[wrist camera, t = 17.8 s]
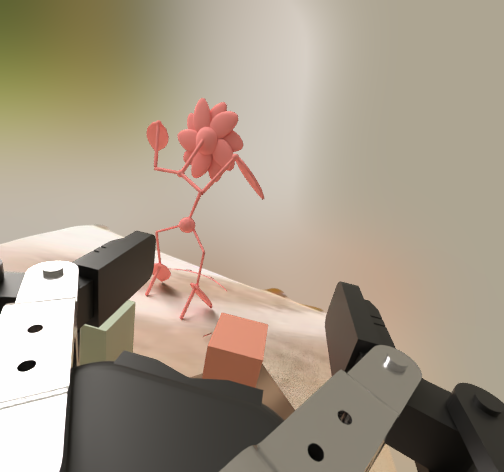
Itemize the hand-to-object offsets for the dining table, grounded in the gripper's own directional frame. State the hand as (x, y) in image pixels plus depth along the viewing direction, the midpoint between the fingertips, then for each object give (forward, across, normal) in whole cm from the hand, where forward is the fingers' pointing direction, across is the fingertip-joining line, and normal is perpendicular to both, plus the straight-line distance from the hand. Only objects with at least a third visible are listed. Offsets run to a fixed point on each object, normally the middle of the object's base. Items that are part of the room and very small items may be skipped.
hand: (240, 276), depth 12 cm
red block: (+11, 0, +24) cm, 27 cm away
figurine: (+35, +12, +26) cm, 46 cm away
